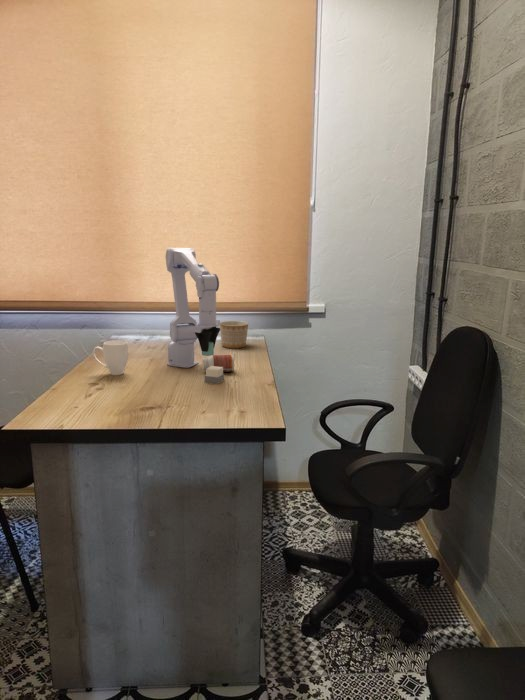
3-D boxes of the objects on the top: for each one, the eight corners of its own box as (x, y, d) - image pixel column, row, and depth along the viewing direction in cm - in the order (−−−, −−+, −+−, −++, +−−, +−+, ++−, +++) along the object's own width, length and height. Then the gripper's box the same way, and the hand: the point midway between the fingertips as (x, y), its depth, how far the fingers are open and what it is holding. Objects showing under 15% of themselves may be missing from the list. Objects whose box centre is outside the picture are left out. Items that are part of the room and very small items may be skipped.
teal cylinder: (199, 354, 171) (199, 343, 170) (205, 352, 175) (205, 341, 174) (210, 356, 170) (209, 344, 169) (215, 353, 173) (215, 342, 172)
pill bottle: (232, 351, 185) (202, 351, 183) (234, 362, 180) (204, 363, 178) (231, 363, 189) (202, 364, 187) (233, 375, 184) (203, 375, 182)
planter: (214, 346, 224) (213, 323, 222) (231, 341, 234) (231, 319, 232) (236, 350, 217) (236, 327, 215) (253, 345, 228) (253, 323, 225)
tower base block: (204, 383, 172) (204, 376, 171) (211, 379, 176) (211, 372, 176) (217, 384, 170) (217, 377, 169) (224, 380, 174) (224, 373, 174)
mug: (130, 370, 184) (129, 339, 181) (127, 376, 176) (126, 344, 173) (96, 370, 182) (94, 340, 179) (92, 377, 174) (90, 345, 171)
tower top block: (206, 376, 171) (206, 369, 170) (211, 372, 175) (211, 365, 174) (218, 377, 170) (218, 370, 169) (223, 374, 174) (223, 367, 173)
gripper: (207, 314, 161) (208, 355, 164) (227, 308, 174) (227, 346, 177) (188, 312, 163) (189, 353, 166) (209, 307, 176) (209, 344, 180)
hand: (207, 349), depth 172 cm, fingers closed on teal cylinder, 4 cm apart
